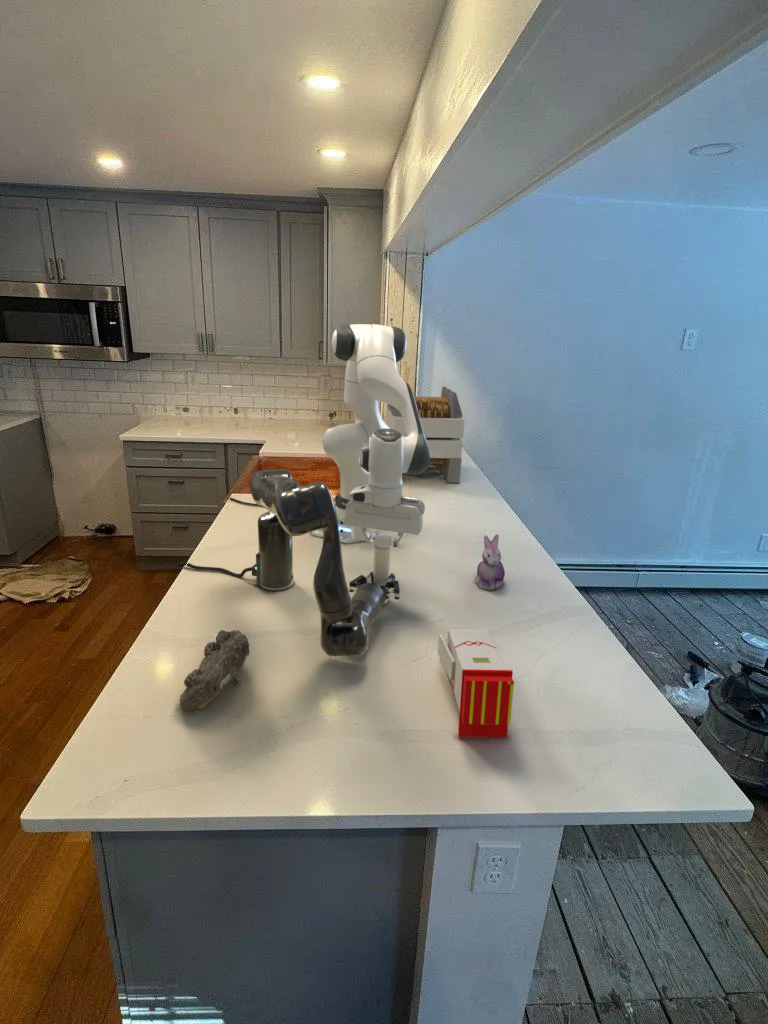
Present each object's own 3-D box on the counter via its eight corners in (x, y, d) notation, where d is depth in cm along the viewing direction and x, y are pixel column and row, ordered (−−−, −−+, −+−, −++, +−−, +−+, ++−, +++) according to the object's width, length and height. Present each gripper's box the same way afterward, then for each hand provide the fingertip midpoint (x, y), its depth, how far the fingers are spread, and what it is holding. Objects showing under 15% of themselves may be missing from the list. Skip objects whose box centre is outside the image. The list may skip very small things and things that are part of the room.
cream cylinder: (390, 600, 154) (394, 540, 148) (381, 606, 151) (383, 544, 145) (378, 595, 156) (381, 536, 150) (369, 601, 153) (371, 540, 147)
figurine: (487, 593, 160) (493, 544, 155) (466, 578, 168) (471, 531, 163) (513, 587, 164) (520, 540, 159) (491, 573, 172) (497, 527, 167)
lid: (373, 540, 150) (373, 533, 149) (391, 541, 150) (391, 534, 150) (373, 547, 146) (374, 540, 145) (391, 548, 146) (392, 541, 145)
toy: (488, 613, 130) (523, 677, 101) (484, 667, 133) (517, 744, 104) (435, 612, 130) (455, 676, 101) (432, 666, 133) (451, 743, 103)
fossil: (201, 632, 127) (249, 601, 122) (231, 661, 130) (278, 632, 125) (157, 704, 108) (212, 671, 103) (193, 736, 111) (248, 705, 106)
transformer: (382, 463, 289) (386, 382, 275) (445, 464, 293) (451, 384, 279) (390, 482, 257) (394, 392, 243) (460, 483, 261) (468, 394, 247)
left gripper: (395, 595, 136) (409, 566, 151) (338, 586, 139) (358, 558, 154) (393, 622, 138) (408, 591, 154) (337, 613, 141) (358, 583, 157)
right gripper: (427, 495, 144) (423, 545, 149) (350, 486, 149) (349, 535, 153) (422, 503, 138) (419, 555, 143) (343, 493, 143) (342, 543, 147)
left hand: (383, 575), depth 154 cm, fingers closed on cream cylinder, 4 cm apart
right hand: (382, 544), depth 148 cm, fingers open, 6 cm apart
